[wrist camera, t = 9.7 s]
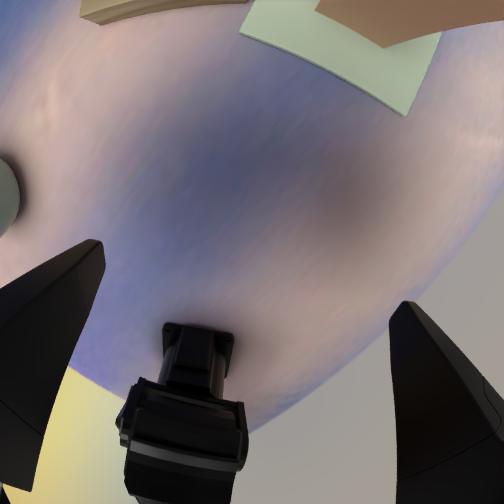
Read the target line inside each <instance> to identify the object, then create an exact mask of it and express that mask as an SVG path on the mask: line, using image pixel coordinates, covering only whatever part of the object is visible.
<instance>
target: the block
mask: <svg viewBox="0 0 504 504" xmlns="http://www.w3.org/2000/svg"><path fill="white" fill-rule="evenodd" d="M314 11H316V12H318V13H320V14H322V15H324V16H326V17H328V18H330V19H332V20H334V21H336V22H338V23H340V24H342V25H344V26H346V27H348V28H349V29H351V30H353V31H355V32H357V33H358V34H360V35H362V36H364V37H365V38H367V39H369V40H370V41H372V42H373V43H375V44H377V45H378V46H380V47H381V48H383V49H384V48H387V47H390V46H393V45H396V44H399V43H402V42H405V41H408V40H412V39H415V38H419V37H422V36H426V35H430V34H433V33H437V32H441V31H446V30H450V29H455V28H459V27H464V26H469V25H475V24H481V23H487V22H494V21H502V20H504V0H320V1H319V3H318V4H317V6H316V8H315V10H314Z"/></svg>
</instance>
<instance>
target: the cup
mask: <svg viewBox="0 0 504 504" xmlns="http://www.w3.org/2000/svg"><path fill="white" fill-rule="evenodd" d="M19 205H20V192H19V187H18V183H17V180H16V177H15V175H14V173H13V171H12V169H11V168H10V167H9V165H8V164H7V163H6V162H4V161H3V160H1V159H0V238H1V237H2V236H3V235H4V234H5V233H6V232H7V230H8V229H9V228H10V226H11V225H12V224H13V222H14V220H15V218H16V216H17V213H18V210H19Z"/></svg>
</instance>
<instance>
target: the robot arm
mask: <svg viewBox="0 0 504 504" xmlns="http://www.w3.org/2000/svg"><path fill="white" fill-rule="evenodd" d="M105 267H106V263H105V255H104V247H103V243H102V242H101V241H98V240H94V239H87V240H85V241H83V242H81V243H79V244H78V245H76V246H74V247H72V248H70V249H68V250H66V251H64V252H62V253H61V254H59V255H57V256H55V257H53V258H52V259H50V260H48V261H46V262H44V263H43V264H41V265H39V266H37V267H36V268H34V269H32V270H30V271H29V272H27V273H25V274H24V275H22V276H20V277H19V278H17V279H15V280H14V281H12V282H10V283H9V284H7V285H5V286H4V287H2V288H1V289H0V504H10V502H9V499H8V497H7V495H6V493H5V491H4V489H3V487H2V486H3V483H4V484H6V485H9V486H12V487H15V488H19V489H22V490H25V491H28V492H31V491H32V487H33V482H34V477H35V472H36V467H37V463H38V458H39V454H40V450H41V447H42V443H43V439H44V435H45V431H46V428H47V424H48V421H49V418H50V414H51V411H52V408H53V405H54V402H55V399H56V396H57V393H58V390H59V388H60V385H61V382H62V379H63V376H64V374H65V371H66V369H67V366H68V363H69V361H70V358H71V356H72V353H73V351H74V349H75V346H76V344H77V341H78V339H79V337H80V334H81V332H82V330H83V328H84V325H85V323H86V321H87V318H88V316H89V313H90V311H91V308H92V305H93V302H94V299H95V296H96V293H97V291H98V288H99V285H100V282H101V280H102V277H103V275H104V272H105ZM167 328H168V329H167ZM162 335H163V357H164V360H163V364H162V367H161V371H160V375H159V378H158V382H157V383H155V382H151V381H148V380H146V379H145V378H142V377H139V380H138V382H137V384H135V385H134V386H131V389H130V392H129V395H128V398H127V400H126V402H125V404H124V406H123V408H122V409H121V411H120V413H119V414H118V416H117V418H116V422H115V424H116V426H117V428H118V429H119V432H120V433H119V436H120V445H121V446H123V447H126V448H127V454H126V461H125V467H124V476H125V479H124V483H125V486H126V488H127V490H128V493H129V495H131V496H135V498H136V500H137V501H138V503H139V504H230V502H231V495H232V488H233V483H234V479H235V475H236V471H238V472H239V471H241V470H242V468H243V466H244V464H245V462H246V458H247V453H248V446H249V437H248V429H247V423H246V416H245V409H244V402H239V401H237V402H234V401H229V400H223V387H224V379H225V378H226V377H227V373H228V368H229V363H230V358H231V354H232V349H233V344H234V336H233V335H232V334H229V333H222V332H215V331H209V330H203V329H197V328H191V327H185V326H179V325H174V324H169V323H166V324H164V326H163V329H162ZM389 336H390V361H391V374H392V382H393V393H394V404H395V418H396V440H397V486H396V504H504V400H503V399H502V397H501V396H500V395H499V394H498V393H497V392H496V391H495V389H494V388H493V387H492V386H491V385H490V383H489V382H488V381H487V380H486V379H485V377H484V376H482V374H481V373H480V372H479V371H478V369H477V368H476V367H475V366H474V365H473V364H472V362H471V361H470V360H469V359H468V358H467V357H466V356H465V354H464V353H463V352H462V351H461V350H460V349H459V348H458V347H457V346H456V345H455V343H454V342H453V341H452V340H451V339H450V338H449V337H448V336H447V335H446V334H445V333H444V332H443V331H442V330H441V328H440V327H439V326H438V325H437V324H436V323H435V322H434V321H433V320H432V319H431V318H430V317H429V316H428V315H427V314H426V313H425V312H424V311H423V310H422V309H421V308H420V307H419V306H418V305H417V304H416V303H415V302H411V301H403V302H402V303H401V304H400V305H399V307H398V308H397V309H396V311H395V312H394V313H393V315H392V316H391V318H390V320H389Z"/></svg>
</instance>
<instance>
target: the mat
mask: <svg viewBox="0 0 504 504" xmlns="http://www.w3.org/2000/svg"><path fill="white" fill-rule="evenodd" d="M319 1H320V0H256V1H255V2H254V4H253V6H252V8H251V10H250V11H249V13H248V15H247V17H246V19H245V21H244V23H243V24H242V26H241V28H240V30H239V34H240V35H243V36H246V37H249V38H252V39H255V40H257V41H260V42H263V43H265V44H268V45H270V46H273V47H275V48H278V49H280V50H283V51H285V52H287V53H290V54H292V55H294V56H296V57H299V58H301V59H303V60H305V61H307V62H309V63H312V64H314V65H316V66H318V67H320V68H322V69H324V70H326V71H328V72H329V73H331V74H333V75H335V76H337V77H339V78H341V79H343V80H344V81H346V82H348V83H350V84H351V85H353V86H355V87H357V88H358V89H360V90H362V91H363V92H365V93H367V94H368V95H370V96H372V97H373V98H375V99H376V100H378V101H379V102H381V103H383V104H384V105H386V106H387V107H389V108H390V109H392V110H393V111H395V112H396V113H397V114H399V115H400V116H402V117H406V116H407V113H408V111H409V109H410V107H411V105H412V103H413V100H414V98H415V96H416V94H417V92H418V89H419V87H420V85H421V83H422V80H423V78H424V76H425V73H426V71H427V69H428V66H429V64H430V61H431V59H432V56H433V54H434V52H435V49H436V46H437V44H438V41H439V39H440V36H441V33H442V31H441V32H437V33H433V34H430V35H426V36H422V37H419V38H415V39H412V40H408V41H405V42H402V43H399V44H396V45H393V46H390V47H387V48H384V49H383V48H381V47H380V46H378V45H377V44H375V43H373V42H372V41H370V40H369V39H367V38H365V37H364V36H362V35H360V34H358V33H357V32H355V31H353V30H351V29H349V28H348V27H346V26H344V25H342V24H340V23H338V22H336V21H334V20H332V19H330V18H328V17H326V16H324V15H322V14H320V13H318V12H316V11H314V10H315V8H316V6H317V4H318V3H319Z"/></svg>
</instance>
